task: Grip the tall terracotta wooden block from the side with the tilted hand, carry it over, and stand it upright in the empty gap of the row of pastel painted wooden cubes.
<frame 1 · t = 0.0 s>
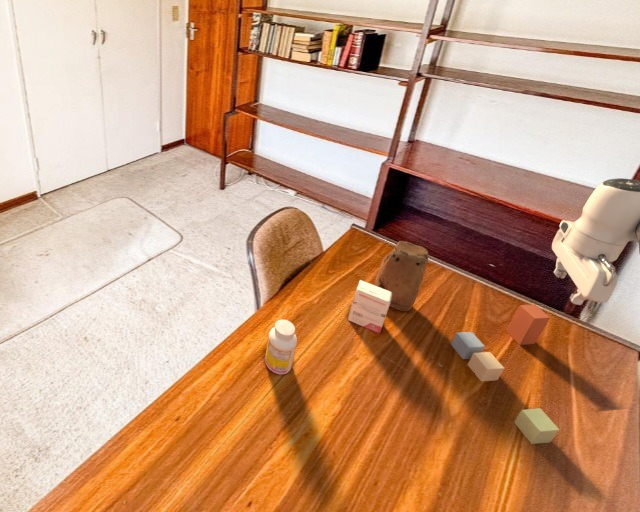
hand: (566, 288, 96), 22 cm above the table, tool pointing down, fingers open, 8 cm apart
cube 1: (531, 432, 86), on the table
cube 3: (464, 351, 104), on the table
ink box: (364, 322, 112), on the table
block: (390, 301, 119), on the table
supplement bottle: (277, 363, 99), on the table
tall block: (519, 337, 109), on the table
cube 2: (482, 372, 99), on the table
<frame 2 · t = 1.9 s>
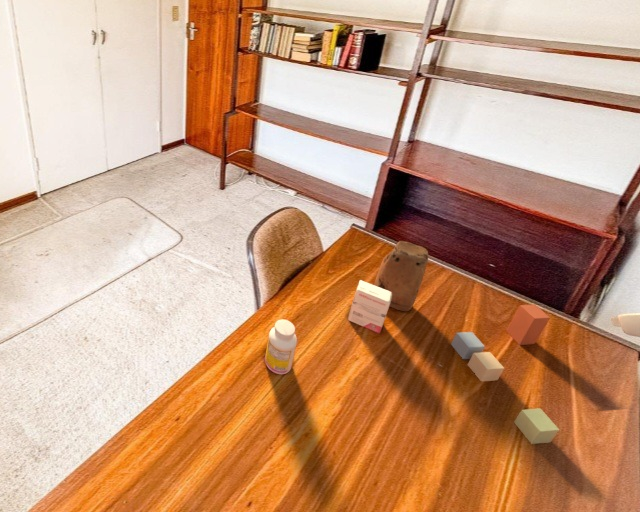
hand: (633, 320, 83), 25 cm above the table, tool tilted 45°, fingers open, 8 cm apart
nothing on the table moved.
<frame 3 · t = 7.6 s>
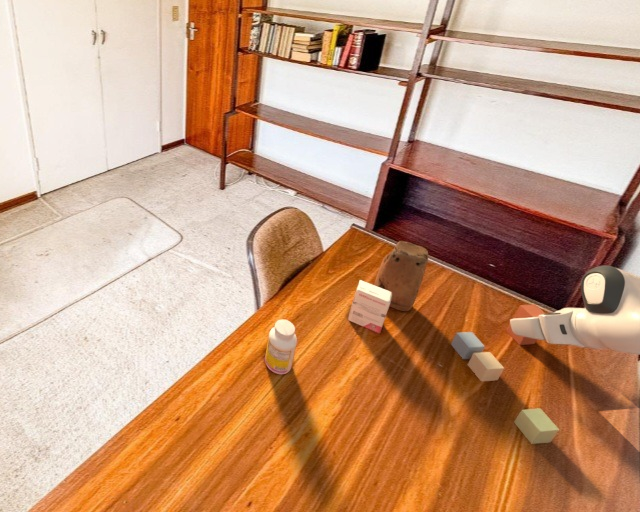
hand: (527, 323, 107), 5 cm above the table, tool tilted 45°, fingers closed on tall block, 4 cm apart
tall block: (519, 337, 109), on the table, touching gripper
everything else where it was.
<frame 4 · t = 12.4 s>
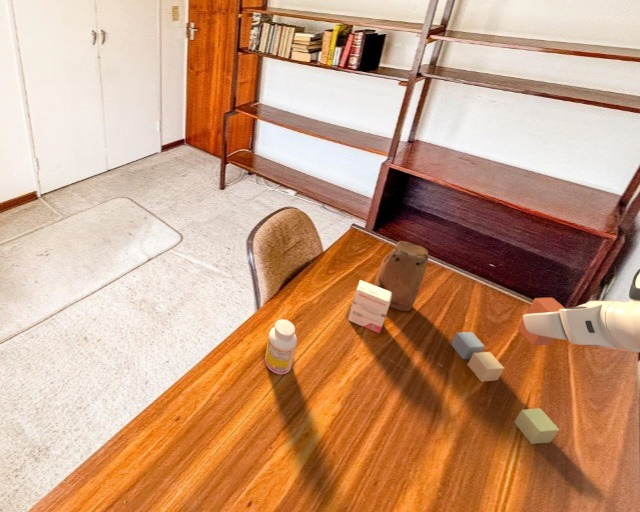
hand: (543, 319, 90), 20 cm above the table, tool tilted 45°, fingers closed on tall block, 4 cm apart
tall block: (533, 336, 92), point 14 cm above the table, touching gripper
everything else where it was.
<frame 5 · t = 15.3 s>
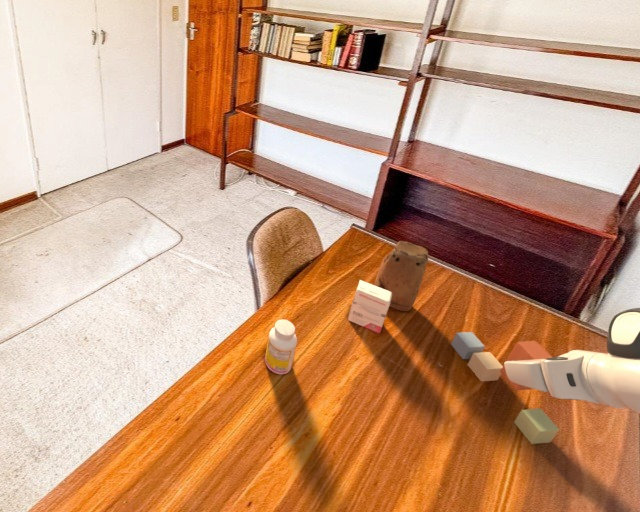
hand: (526, 363, 87), 12 cm above the table, tool tilted 45°, fingers closed on tall block, 4 cm apart
tall block: (516, 380, 90), point 7 cm above the table, touching gripper
everything else where it was.
when the fingers open (5 cm above the table, at t = 17.7 s): tall block stays where it is, on the table.
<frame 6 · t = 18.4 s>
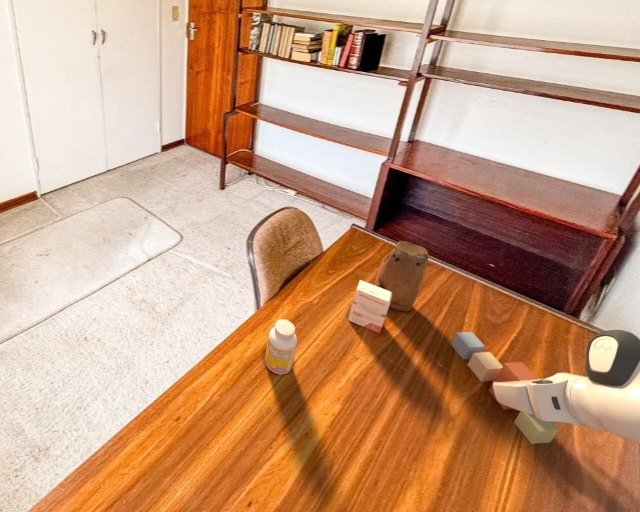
hand: (514, 383, 90), 6 cm above the table, tool tilted 45°, fingers open, 8 cm apart
tall block: (504, 399, 93), on the table
everything else where it was.
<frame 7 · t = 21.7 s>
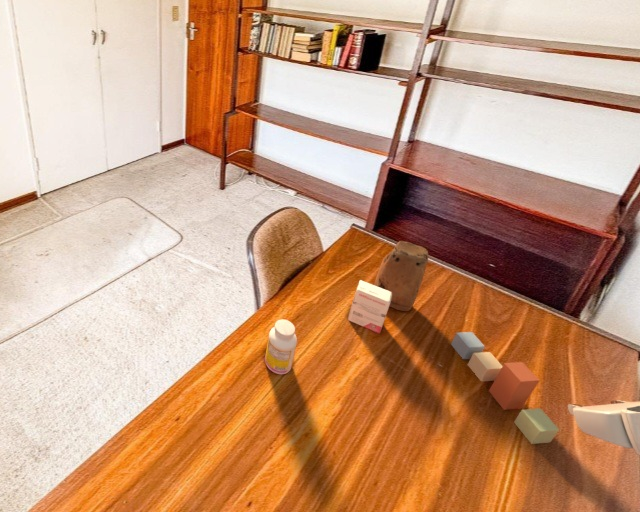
hand: (593, 406, 77), 15 cm above the table, tool tilted 45°, fingers open, 8 cm apart
nothing on the table moved.
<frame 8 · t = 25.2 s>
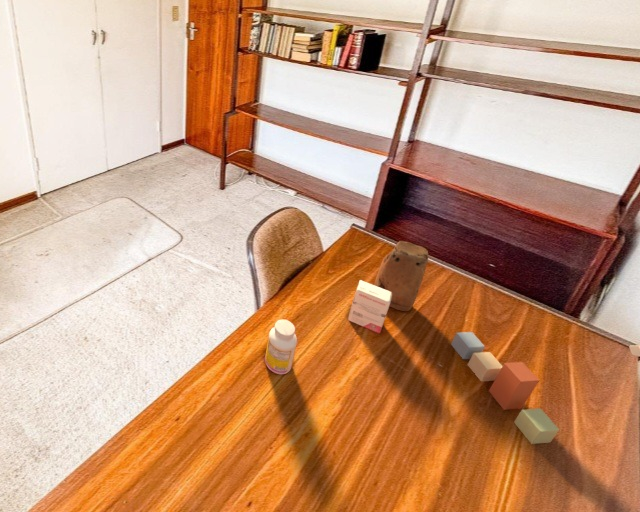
nothing on the table moved.
at the end: tall block 0.1 cm from the target spot on the table beside the cube 1, on the table; tall block tilted 0°; the gripper is holding nothing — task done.
